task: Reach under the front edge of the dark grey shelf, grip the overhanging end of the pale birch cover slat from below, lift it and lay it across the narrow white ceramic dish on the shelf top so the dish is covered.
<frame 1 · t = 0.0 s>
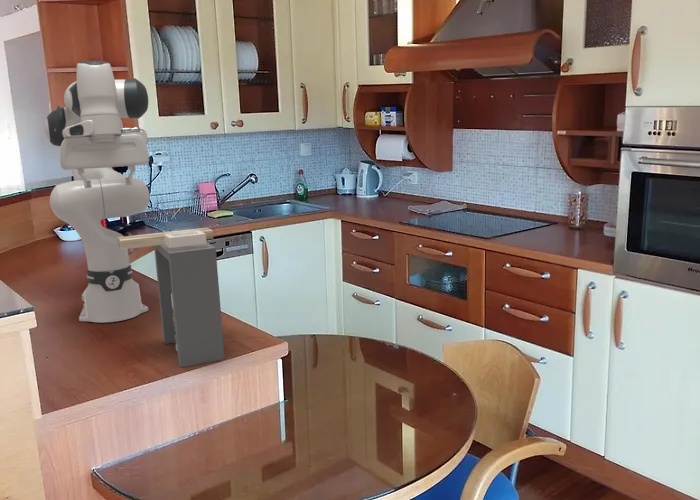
hand: (108, 186, 161), 39 cm above the kitchen counter, tool pointing down, fingers open, 8 cm apart
syrup box: (192, 351, 159), on the kitchen counter
ceramic dish: (185, 247, 149), point 26 cm above the kitchen counter, touching shelf
cover slat: (166, 242, 156), point 26 cm above the kitchen counter, touching shelf
shelf: (192, 350, 159), on the kitchen counter
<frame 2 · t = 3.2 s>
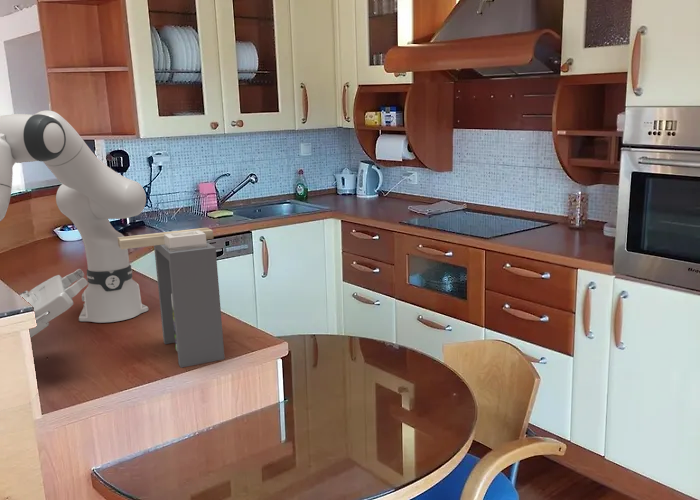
hand: (84, 275, 149), 21 cm above the kitchen counter, tool pointing upward, fingers open, 8 cm apart
nothing on the kitchen counter moved.
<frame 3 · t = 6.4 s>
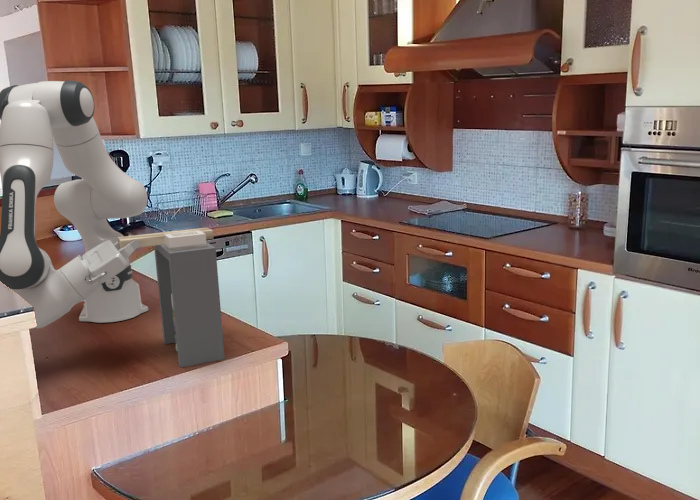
hand: (136, 239, 153), 27 cm above the kitchen counter, tool pointing upward, fingers closed on cover slat, 5 cm apart
cover slat: (166, 242, 156), point 26 cm above the kitchen counter, touching gripper, shelf
everything else where it was.
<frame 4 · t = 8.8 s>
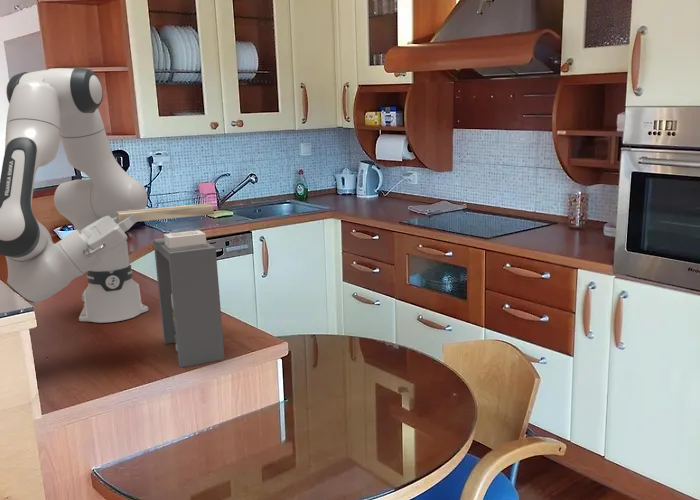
hand: (135, 213, 150), 34 cm above the kitchen counter, tool pointing upward, fingers closed on cover slat, 5 cm apart
cover slat: (166, 217, 154), point 32 cm above the kitchen counter, touching gripper
everything else where it was.
when the fingers open (31 cm above the kitchen counter, at t = 11.0 s): cover slat drops 1 cm, resting on ceramic dish.
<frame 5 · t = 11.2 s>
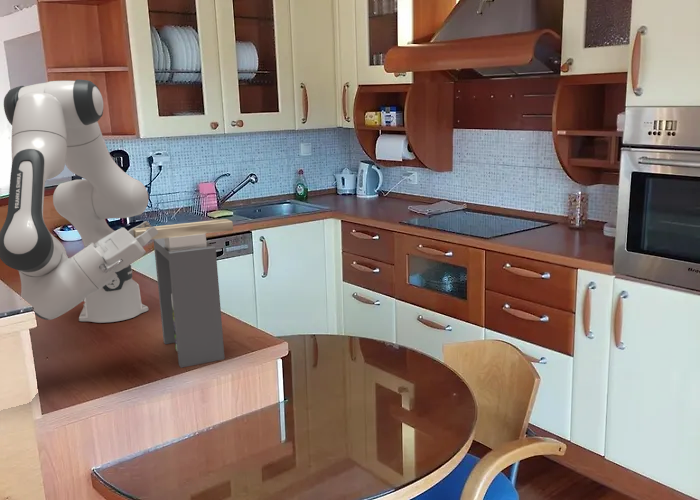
hand: (152, 226, 145), 31 cm above the kitchen counter, tool pointing upward, fingers open, 7 cm apart
ceramic dish: (185, 247, 149), point 26 cm above the kitchen counter, touching cover slat, shelf
cover slat: (184, 234, 148), point 29 cm above the kitchen counter, touching ceramic dish
everything else where it was.
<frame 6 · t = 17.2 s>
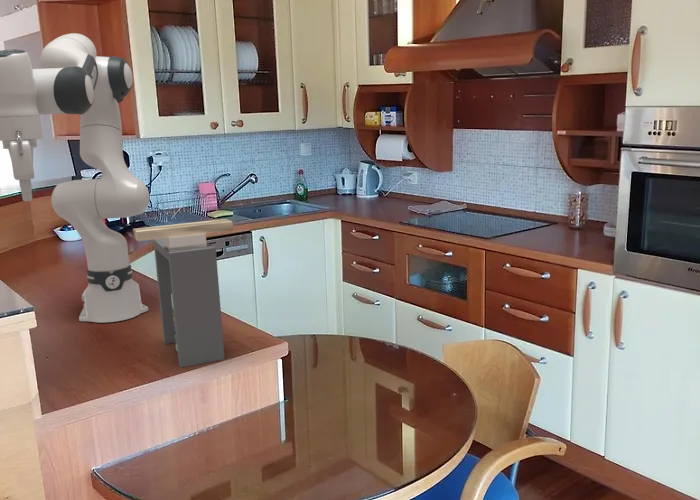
hand: (27, 198, 139), 39 cm above the kitchen counter, tool pointing down, fingers open, 8 cm apart
nothing on the kitchen counter moved.
at the end: cover slat touching ceramic dish; cover slat 0.0 cm off-centre on the ceramic dish, point 3.0 cm above the ceramic dish's base; the gripper is holding nothing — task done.
